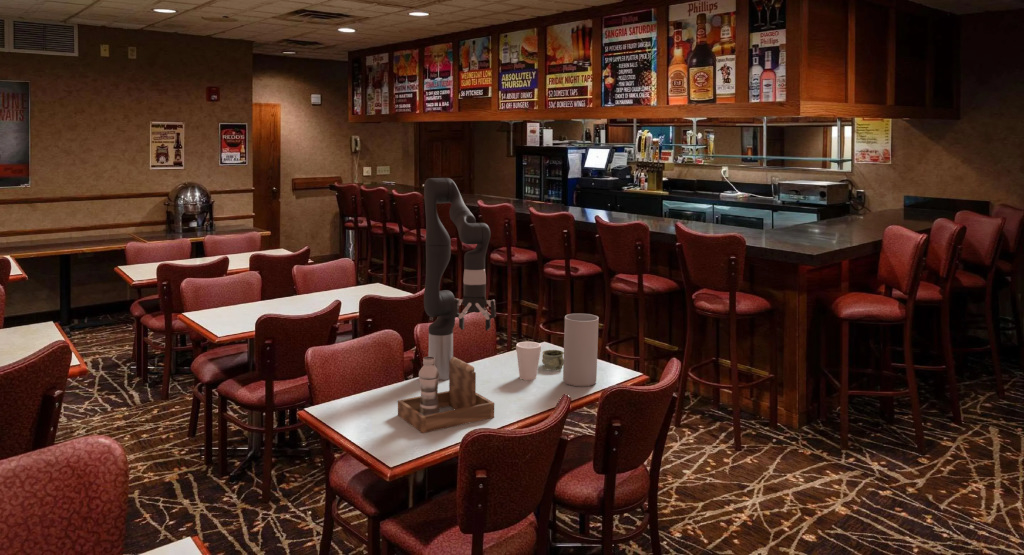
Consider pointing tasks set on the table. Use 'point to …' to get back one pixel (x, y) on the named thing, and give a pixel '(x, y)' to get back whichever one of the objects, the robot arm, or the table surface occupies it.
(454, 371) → the wooden box
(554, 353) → the vessel
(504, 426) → the table surface
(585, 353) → the cylinder vase
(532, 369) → the foam cup
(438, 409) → the plastic bottle
